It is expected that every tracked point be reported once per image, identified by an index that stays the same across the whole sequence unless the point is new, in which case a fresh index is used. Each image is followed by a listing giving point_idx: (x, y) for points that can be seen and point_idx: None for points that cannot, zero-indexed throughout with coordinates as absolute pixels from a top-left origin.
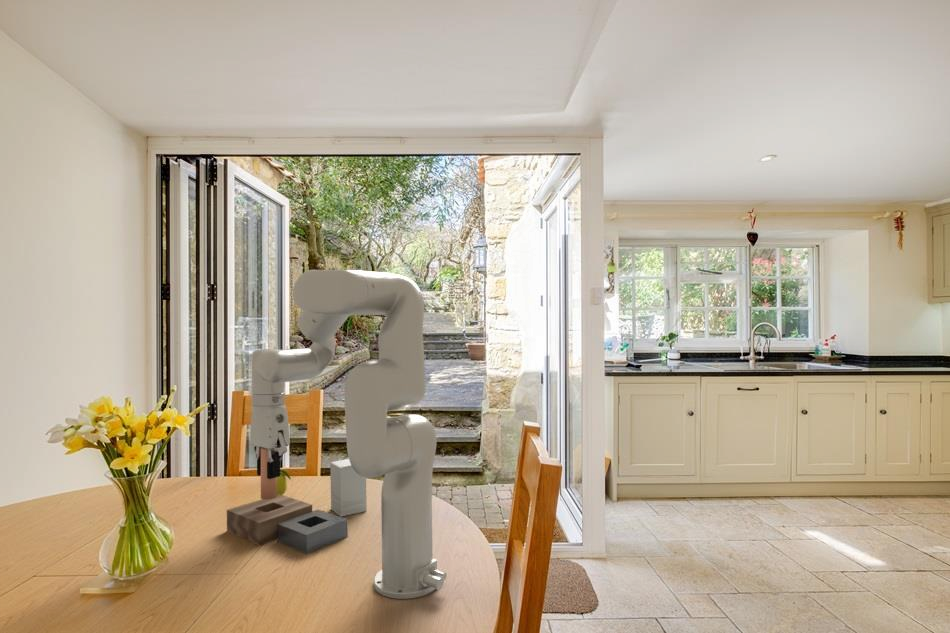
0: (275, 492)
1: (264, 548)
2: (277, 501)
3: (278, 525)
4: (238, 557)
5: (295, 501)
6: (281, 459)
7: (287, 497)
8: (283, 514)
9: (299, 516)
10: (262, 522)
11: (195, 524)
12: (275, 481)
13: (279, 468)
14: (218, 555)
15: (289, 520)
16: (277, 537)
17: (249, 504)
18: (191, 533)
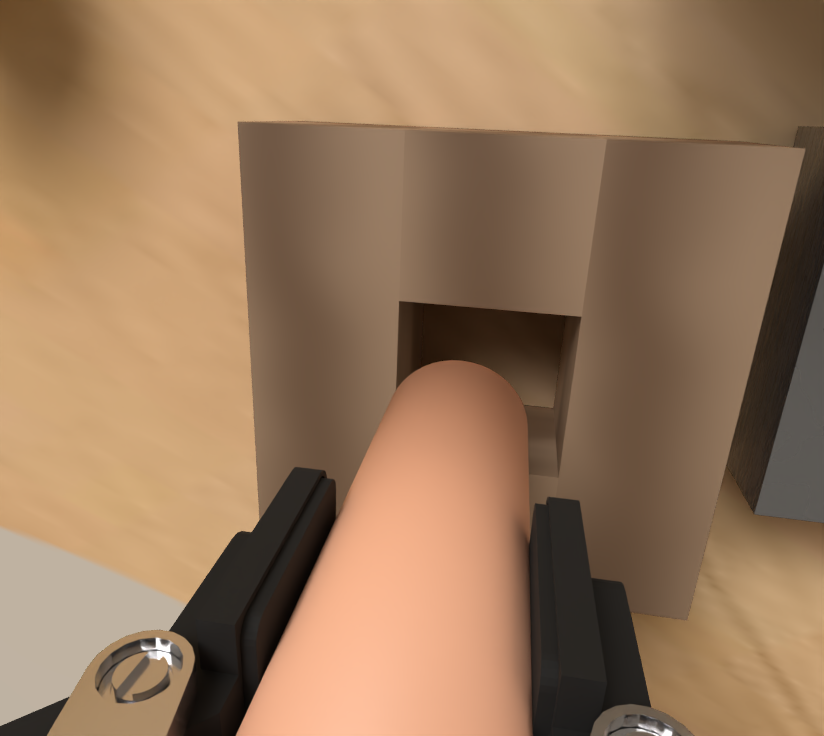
0: (523, 426)
1: (722, 540)
2: (408, 266)
3: (770, 512)
4: (681, 653)
5: (560, 177)
6: (689, 731)
7: (391, 142)
8: (728, 446)
9: (814, 338)
10: (690, 595)
11: (86, 497)
12: (524, 487)
13: (583, 574)
14: None
15: (799, 435)
16: (727, 464)
17: (285, 425)
18: (194, 571)
